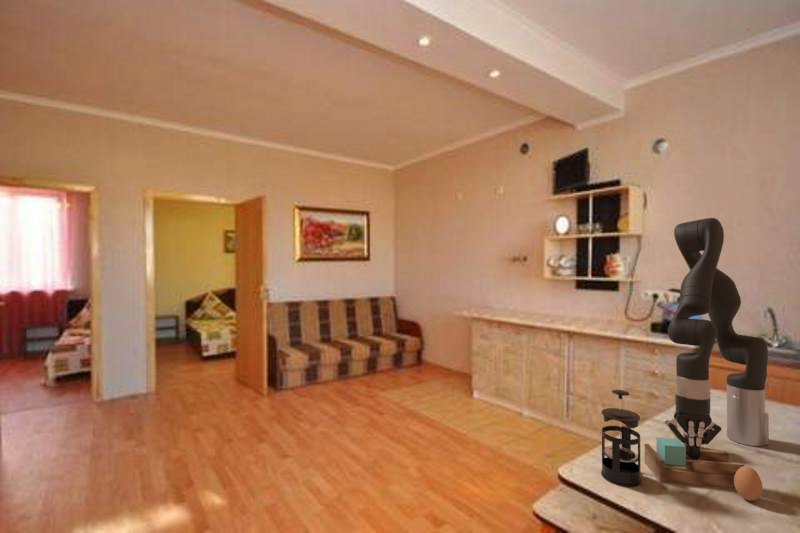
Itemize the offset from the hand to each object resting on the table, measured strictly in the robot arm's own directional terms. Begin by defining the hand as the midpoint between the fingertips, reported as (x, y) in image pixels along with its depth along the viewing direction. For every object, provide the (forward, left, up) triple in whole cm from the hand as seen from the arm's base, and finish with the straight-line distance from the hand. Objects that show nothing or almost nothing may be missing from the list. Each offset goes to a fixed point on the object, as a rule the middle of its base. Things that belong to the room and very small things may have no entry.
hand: (692, 458), depth 107 cm
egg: (-7, +10, -5) cm, 13 cm away
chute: (0, 0, -5) cm, 5 cm away
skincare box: (-6, -17, -5) cm, 19 cm away
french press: (+19, +4, -5) cm, 20 cm away
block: (+5, 0, -1) cm, 5 cm away
